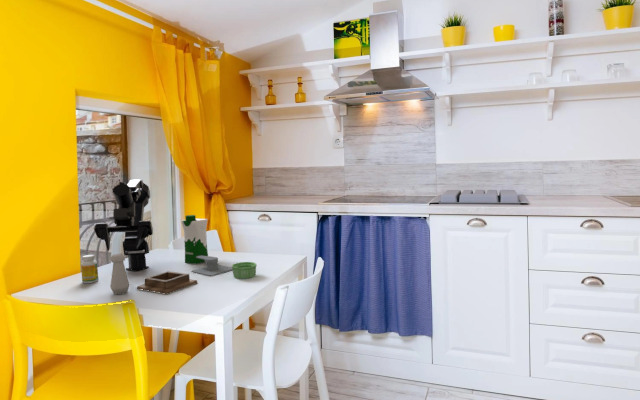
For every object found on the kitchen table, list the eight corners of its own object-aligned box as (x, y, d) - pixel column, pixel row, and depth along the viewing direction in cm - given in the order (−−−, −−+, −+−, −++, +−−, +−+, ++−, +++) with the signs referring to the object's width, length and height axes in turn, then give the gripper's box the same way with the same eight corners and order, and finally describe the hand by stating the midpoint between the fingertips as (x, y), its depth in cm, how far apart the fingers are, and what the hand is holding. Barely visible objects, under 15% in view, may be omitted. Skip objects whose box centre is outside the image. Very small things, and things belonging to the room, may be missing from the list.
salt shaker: (114, 290, 156) (111, 252, 154) (132, 289, 156) (129, 252, 155) (108, 295, 150) (105, 256, 148) (126, 294, 150) (123, 255, 149)
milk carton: (181, 262, 194) (178, 215, 192) (197, 258, 201) (195, 213, 199) (196, 265, 189) (193, 216, 187) (212, 260, 196) (209, 214, 194)
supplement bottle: (82, 280, 170) (80, 255, 169) (98, 278, 172) (96, 253, 171) (82, 284, 165) (79, 258, 164) (98, 282, 167) (96, 256, 166)
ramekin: (245, 280, 163) (245, 268, 162) (227, 277, 168) (226, 266, 167) (261, 275, 170) (261, 263, 170) (243, 272, 175) (243, 260, 175)
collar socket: (137, 289, 156) (136, 279, 156) (168, 278, 168) (168, 269, 168) (166, 294, 149) (165, 283, 149) (197, 283, 162) (196, 273, 161)
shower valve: (210, 252, 188) (235, 256, 179) (211, 265, 189) (236, 270, 180) (185, 258, 179) (210, 263, 169) (186, 272, 179) (210, 277, 170)
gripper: (93, 200, 160) (87, 237, 151) (149, 198, 164) (147, 233, 155) (100, 220, 169) (95, 255, 159) (153, 217, 173) (151, 251, 163)
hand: (122, 249), depth 159 cm, fingers open, 9 cm apart
